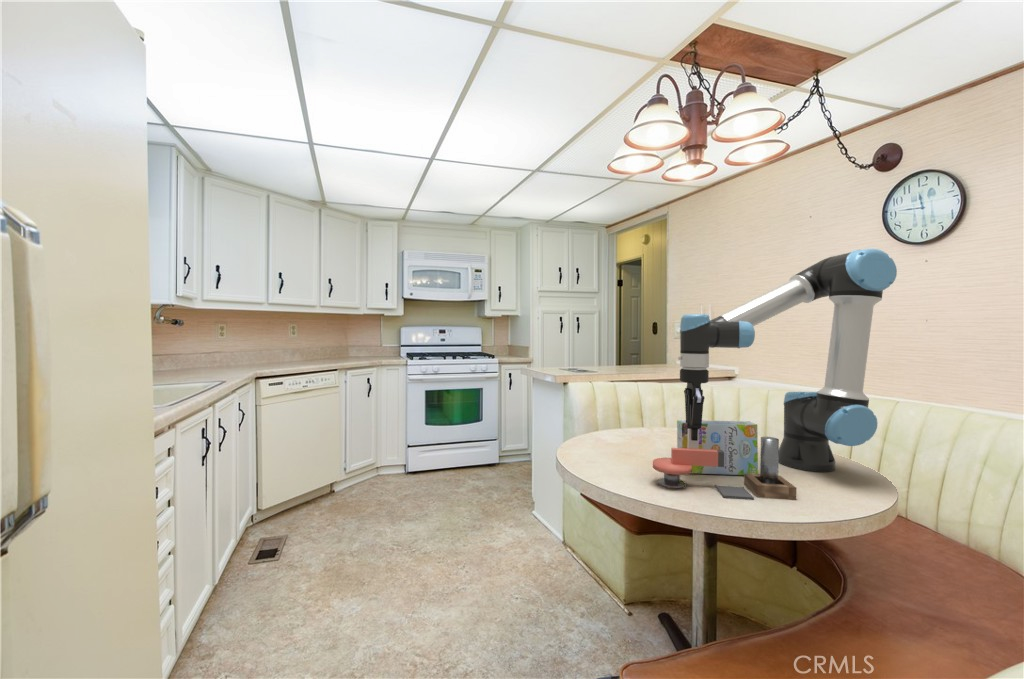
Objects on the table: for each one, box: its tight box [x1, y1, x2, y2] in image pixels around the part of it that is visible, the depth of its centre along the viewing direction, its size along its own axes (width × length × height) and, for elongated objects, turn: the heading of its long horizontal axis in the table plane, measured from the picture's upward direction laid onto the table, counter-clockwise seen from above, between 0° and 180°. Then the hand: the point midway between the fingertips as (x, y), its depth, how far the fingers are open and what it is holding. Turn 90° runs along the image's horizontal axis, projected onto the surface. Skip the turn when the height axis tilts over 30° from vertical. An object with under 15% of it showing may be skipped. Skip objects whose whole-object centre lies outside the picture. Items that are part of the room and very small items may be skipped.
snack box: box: [676, 419, 759, 476], centre depth 125 cm, size 21×6×15 cm, turn 84°
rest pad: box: [714, 485, 755, 501], centre depth 109 cm, size 7×7×1 cm
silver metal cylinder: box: [759, 436, 780, 484], centre depth 110 cm, size 4×4×14 cm
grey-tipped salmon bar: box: [652, 447, 724, 476], centre depth 114 cm, size 18×10×6 cm, turn 80°
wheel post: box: [657, 473, 686, 490], centre depth 115 cm, size 7×7×4 cm
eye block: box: [743, 473, 797, 501], centre depth 110 cm, size 9×9×3 cm
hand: (693, 450), depth 120 cm, fingers closed
